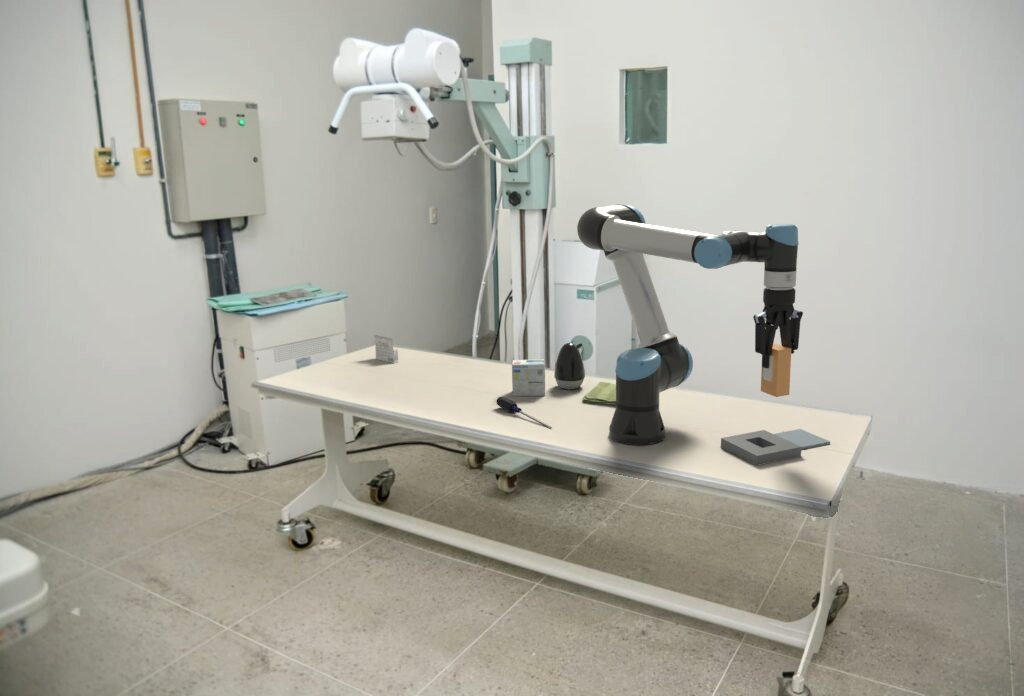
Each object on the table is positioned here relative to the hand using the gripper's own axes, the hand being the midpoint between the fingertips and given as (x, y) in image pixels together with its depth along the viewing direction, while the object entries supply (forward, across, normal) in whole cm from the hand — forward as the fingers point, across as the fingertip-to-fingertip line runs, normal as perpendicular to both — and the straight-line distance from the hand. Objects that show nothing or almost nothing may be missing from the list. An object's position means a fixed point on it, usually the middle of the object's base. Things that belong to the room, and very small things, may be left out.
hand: (775, 378), depth 200 cm
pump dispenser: (+18, -23, +74) cm, 79 cm away
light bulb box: (+18, -38, +73) cm, 84 cm away
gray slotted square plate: (+19, -4, 0) cm, 19 cm away
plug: (+4, 0, 0) cm, 4 cm away
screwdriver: (+19, -49, +51) cm, 73 cm away
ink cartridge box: (+17, -71, +136) cm, 154 cm away
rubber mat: (+19, +11, +3) cm, 22 cm away
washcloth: (+19, -17, +58) cm, 63 cm away
